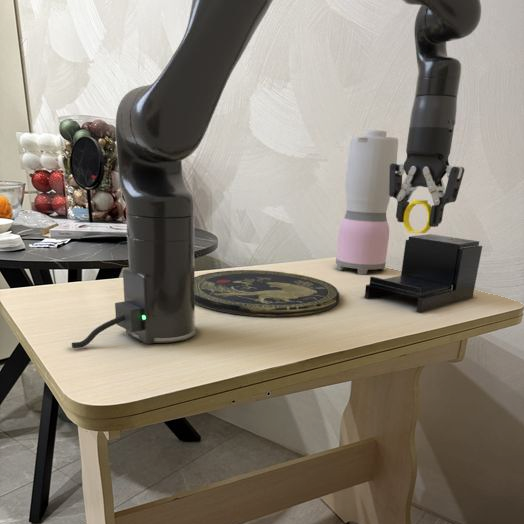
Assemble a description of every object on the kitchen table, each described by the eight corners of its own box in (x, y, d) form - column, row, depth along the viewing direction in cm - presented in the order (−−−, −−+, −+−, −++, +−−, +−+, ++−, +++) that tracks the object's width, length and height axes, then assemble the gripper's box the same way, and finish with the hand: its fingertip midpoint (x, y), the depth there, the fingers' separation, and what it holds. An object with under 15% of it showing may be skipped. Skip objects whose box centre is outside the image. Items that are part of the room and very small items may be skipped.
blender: (370, 277, 122) (387, 129, 111) (325, 268, 129) (338, 128, 118) (398, 268, 134) (416, 134, 123) (356, 261, 141) (370, 133, 130)
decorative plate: (155, 278, 102) (270, 264, 121) (155, 288, 103) (270, 272, 121) (249, 318, 81) (372, 293, 99) (249, 329, 82) (371, 302, 100)
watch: (434, 234, 96) (439, 201, 94) (424, 235, 94) (429, 201, 92) (408, 230, 100) (412, 198, 98) (398, 231, 99) (403, 198, 97)
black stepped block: (420, 312, 95) (429, 249, 91) (364, 297, 103) (371, 239, 99) (472, 297, 107) (483, 241, 103) (419, 285, 116) (427, 233, 112)
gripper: (384, 125, 93) (373, 220, 99) (459, 124, 83) (442, 230, 89) (408, 128, 98) (396, 219, 104) (481, 127, 88) (463, 228, 94)
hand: (417, 223), depth 97 cm, fingers closed on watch, 6 cm apart
